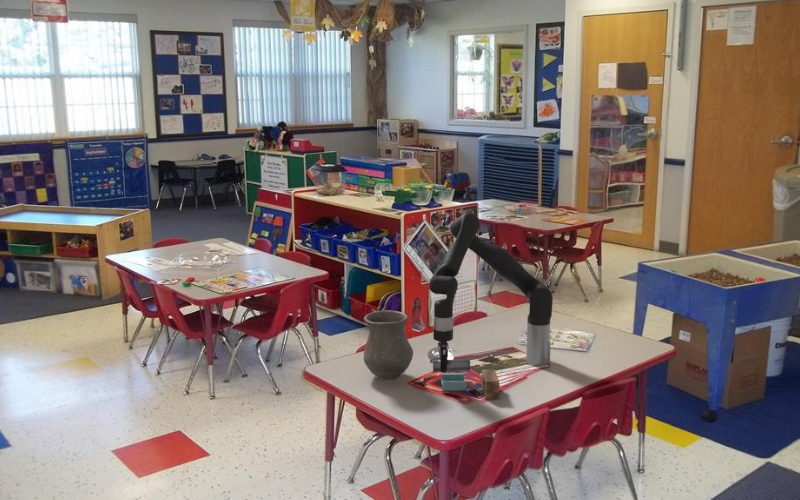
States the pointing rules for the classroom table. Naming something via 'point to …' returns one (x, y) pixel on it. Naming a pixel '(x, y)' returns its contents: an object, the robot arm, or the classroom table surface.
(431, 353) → the figurine
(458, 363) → the axle
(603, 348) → the classroom table surface
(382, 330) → the vase
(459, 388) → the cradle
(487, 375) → the brown notched block
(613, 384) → the classroom table surface
